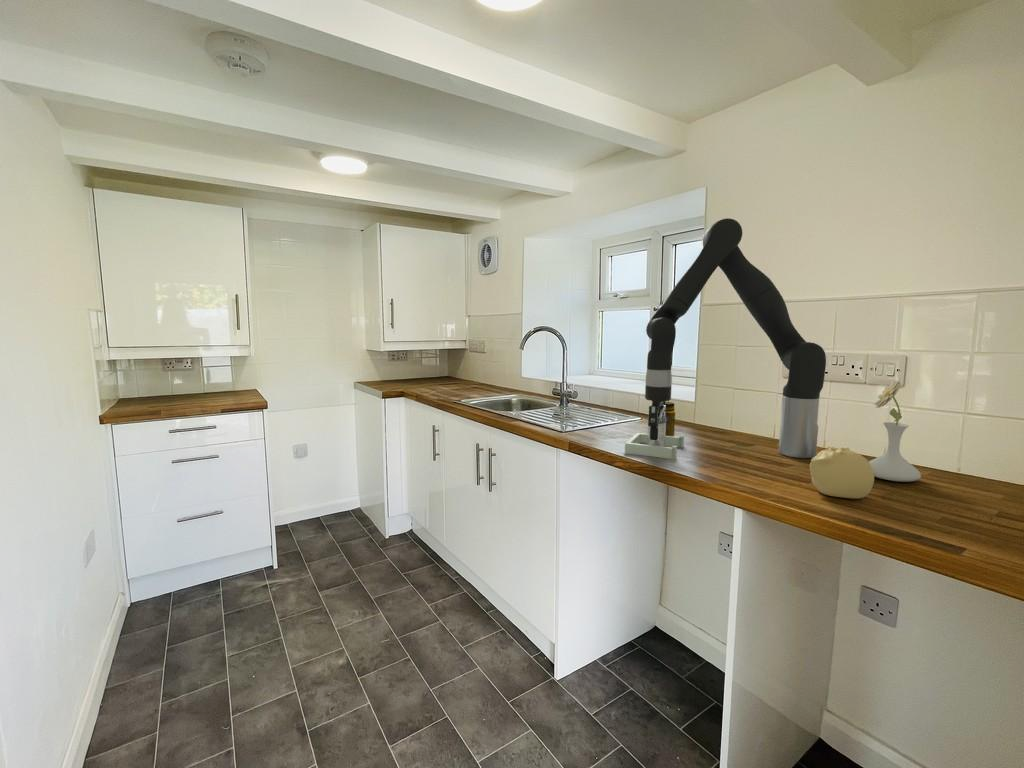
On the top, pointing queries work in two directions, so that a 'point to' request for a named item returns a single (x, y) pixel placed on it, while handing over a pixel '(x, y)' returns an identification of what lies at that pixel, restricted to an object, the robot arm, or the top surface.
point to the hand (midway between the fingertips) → (656, 436)
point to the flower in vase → (893, 444)
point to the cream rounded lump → (841, 473)
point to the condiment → (670, 419)
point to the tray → (651, 450)
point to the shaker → (661, 434)
